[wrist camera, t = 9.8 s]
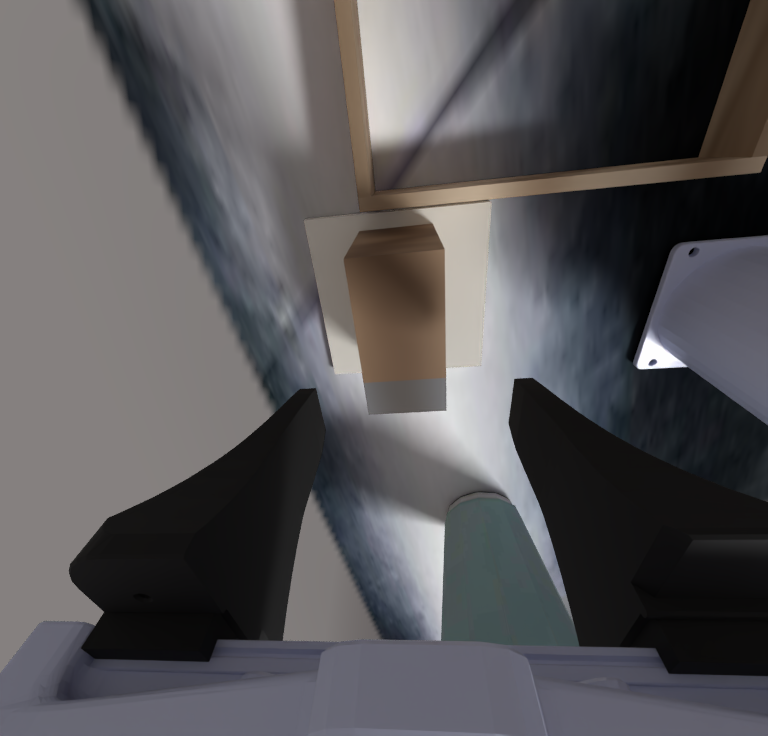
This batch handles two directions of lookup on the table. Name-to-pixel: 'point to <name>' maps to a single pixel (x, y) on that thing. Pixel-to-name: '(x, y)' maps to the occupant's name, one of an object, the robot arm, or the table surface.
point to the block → (399, 317)
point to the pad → (462, 275)
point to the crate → (717, 158)
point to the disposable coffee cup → (498, 579)
